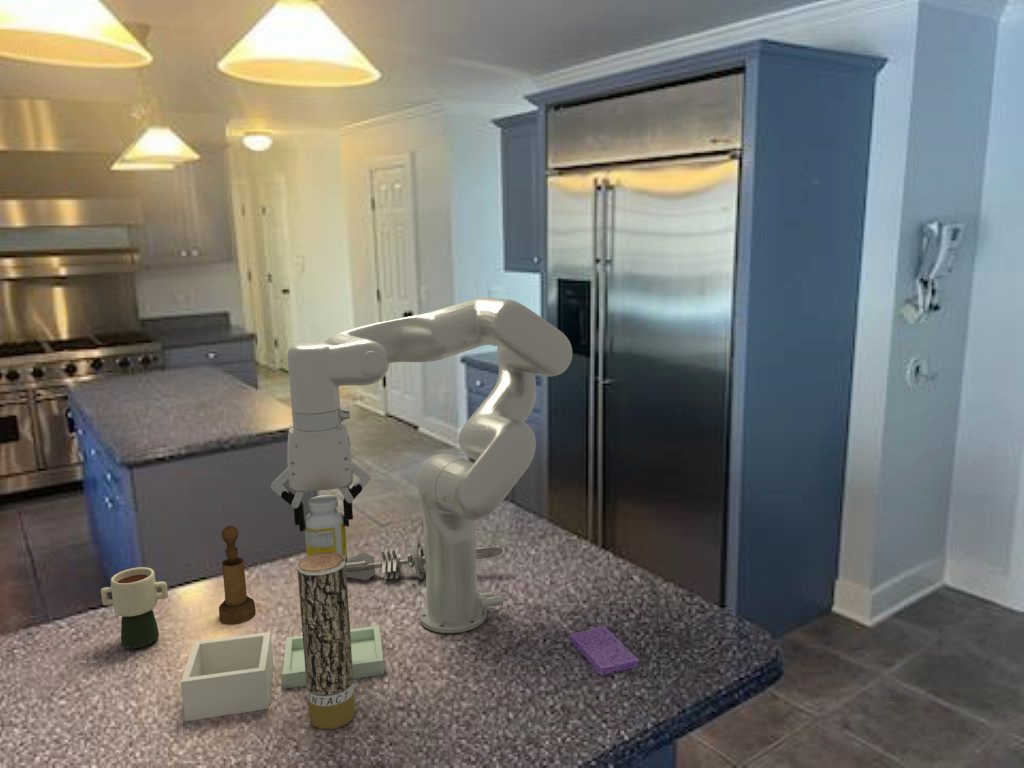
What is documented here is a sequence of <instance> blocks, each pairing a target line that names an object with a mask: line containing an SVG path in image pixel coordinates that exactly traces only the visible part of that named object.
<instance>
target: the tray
mask: <svg viewBox="0 0 1024 768" xmlns="http://www.w3.org/2000/svg"><path fill="white" fill-rule="evenodd" d="M350 635H351V650H352V665H353V680H354V679H359V678H360V679H361V678H367V677H374V676H380V675H385V665H384V664H385V663H384V662H385V661H384V652H383V645H382V639H381V629H380V625H372V626H364V627H356V628H350ZM285 638H286V639H285V646H284V647H285V648H284V649H285V650H284V658H283V667H282V683H283V689H284V690H285V689H291V688H297V687H304V686H305V687H307V684H306V672H305V659H304V647H303V634H302V635H297V636H296V635H295V636H289V637H285Z"/></svg>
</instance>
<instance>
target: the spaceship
mask: <svg viewBox="0 0 1024 768" xmlns="http://www.w3.org/2000/svg"><path fill="white" fill-rule="evenodd" d="M388 550H389V551H388ZM503 550H504V549H503V548H501V547H498V546H484V547H476V558H477V560H481V559H489V558H495V557H498V556H500V555H502V554H503V552H504V551H503ZM381 557H382V558H380V561H376V562H375V557H374V556H373V555H371V554H369V553H367V552H362V553H358V554H357V555H355V556H353V557H350V558H347V563H346V576H347V578H351V579H356V580H363V581H368V580H370V578H372V577H374V575H376V569H379V568H381V569H382V570H381V572H382V573H384V580H385V581H386V580H388V577H389V580H392V579H393V577H394V579H398V578H399V575H401V574H402V570H401V568H402V566H403V565H407V566H408V568H412V569H413V568H414V570H415V574H416V575H417V577H418V579H420V580H422V579H423V578H424V574H425V572H426V562H425V550H424V549H423V547H422V544H421V542H420V541H418V540H417V541H416V542H415V545H414V547H413V554H407V558H403V559H401V554H399V547H395V549H394V547H391V548H389V549H388V548H385V549H384V551H381Z"/></svg>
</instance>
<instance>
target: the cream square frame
mask: <svg viewBox="0 0 1024 768" xmlns="http://www.w3.org/2000/svg"><path fill="white" fill-rule="evenodd" d="M271 633H272V632H271V631H268V632H267V631H266V632H260V633H252V634H245V635H237V636H229V637H222V638H214V639H213V638H212V639H204V640H197V641H194V642H193V645H192V647H191V651H190V652H189V656H188V659H187V662H186V665H185V669H184V671H183V675H182V677H181V680H180V687H181V696H182V703H183V712H184V714H183V715H184V720H185V722H188V721H190V722H191V721H195V720H201V719H209V718H216V717H223V716H229V715H230V716H231V715H236V714H242V713H249V712H256V711H262V710H268V709H269V708H270V701H271V691H272V684H273V683H272V682H273V677H274V676H273V675H274V669H275V668H274V667H275V666H274V657H273V656H274V654H273V643H272V634H271Z"/></svg>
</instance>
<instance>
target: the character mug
mask: <svg viewBox="0 0 1024 768" xmlns="http://www.w3.org/2000/svg"><path fill="white" fill-rule="evenodd" d="M155 574H156V573H155V570H154V569H153V568H151V567H146V566H145V567H142V566H140V567H139V566H138V567H132V568H128V569H124V570H121V571H119V572H117V573H116V574H114V575H113V576H111V578H110V586H105V587H102V588H101V589H100V595H101V603H102V605H103V606H111V605H113V610H114V612H115V614H116V615H117V616H120V617H121V625H120V626H121V627H120V628H121V629H120V644H121V645H122V646H123V647H124V648H127V649H132V650H133V649H139V648H140V649H141V648H143V647H145V646H148V645H150V644H152V643H153V642H155V641H156V640H157V639H158V638H159V636H160V632H159V627H158V624H157V620H156V617H155V612H154V610H153V609H155V607H156V606H157V603H158V600H165V599H167V598H168V597H169V591H168V590H169V589H168V584H167V582H166V581H156V575H155ZM157 588H160V589H161V593H158V591H157ZM108 593H111V596H112V599H109V598H108Z"/></svg>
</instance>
